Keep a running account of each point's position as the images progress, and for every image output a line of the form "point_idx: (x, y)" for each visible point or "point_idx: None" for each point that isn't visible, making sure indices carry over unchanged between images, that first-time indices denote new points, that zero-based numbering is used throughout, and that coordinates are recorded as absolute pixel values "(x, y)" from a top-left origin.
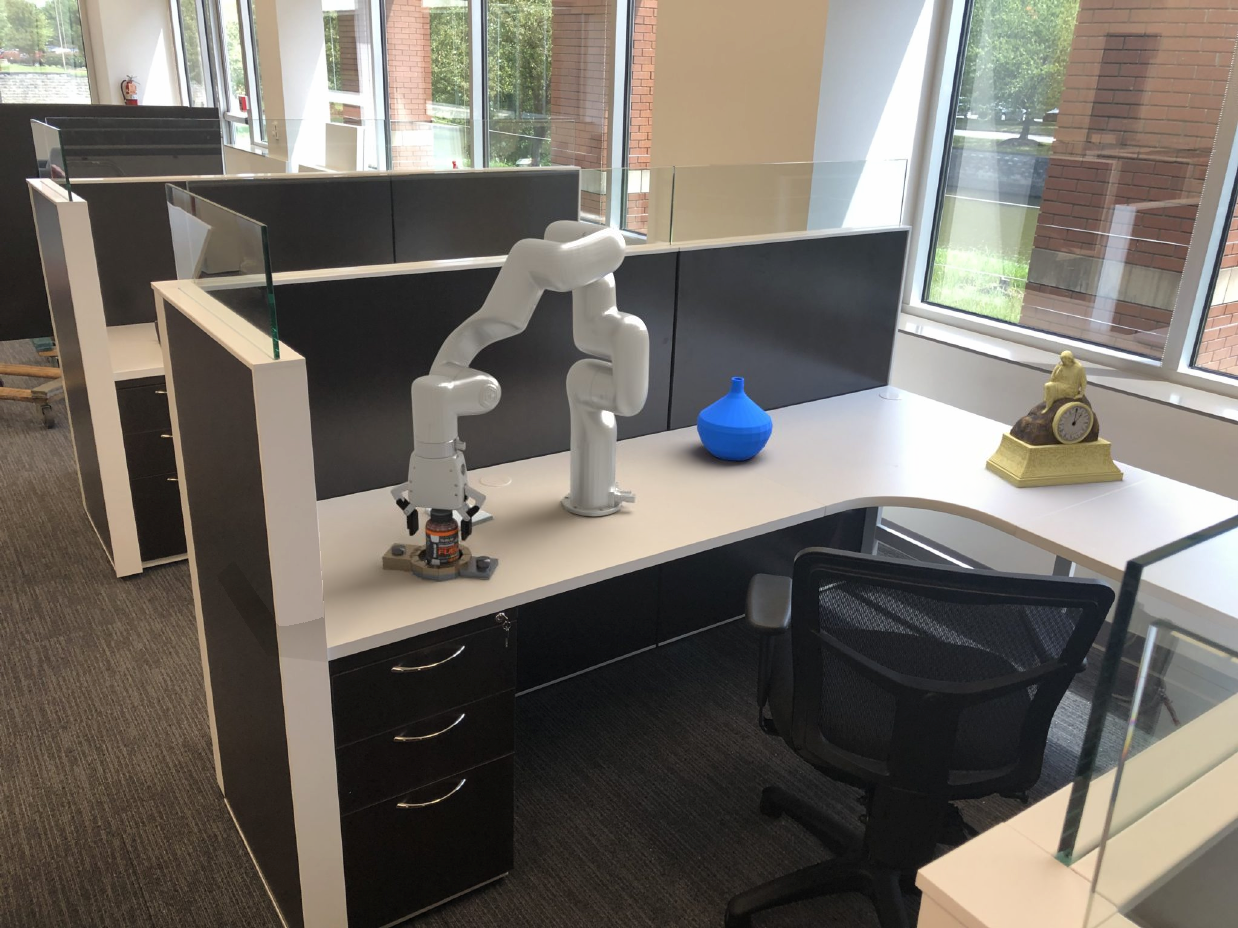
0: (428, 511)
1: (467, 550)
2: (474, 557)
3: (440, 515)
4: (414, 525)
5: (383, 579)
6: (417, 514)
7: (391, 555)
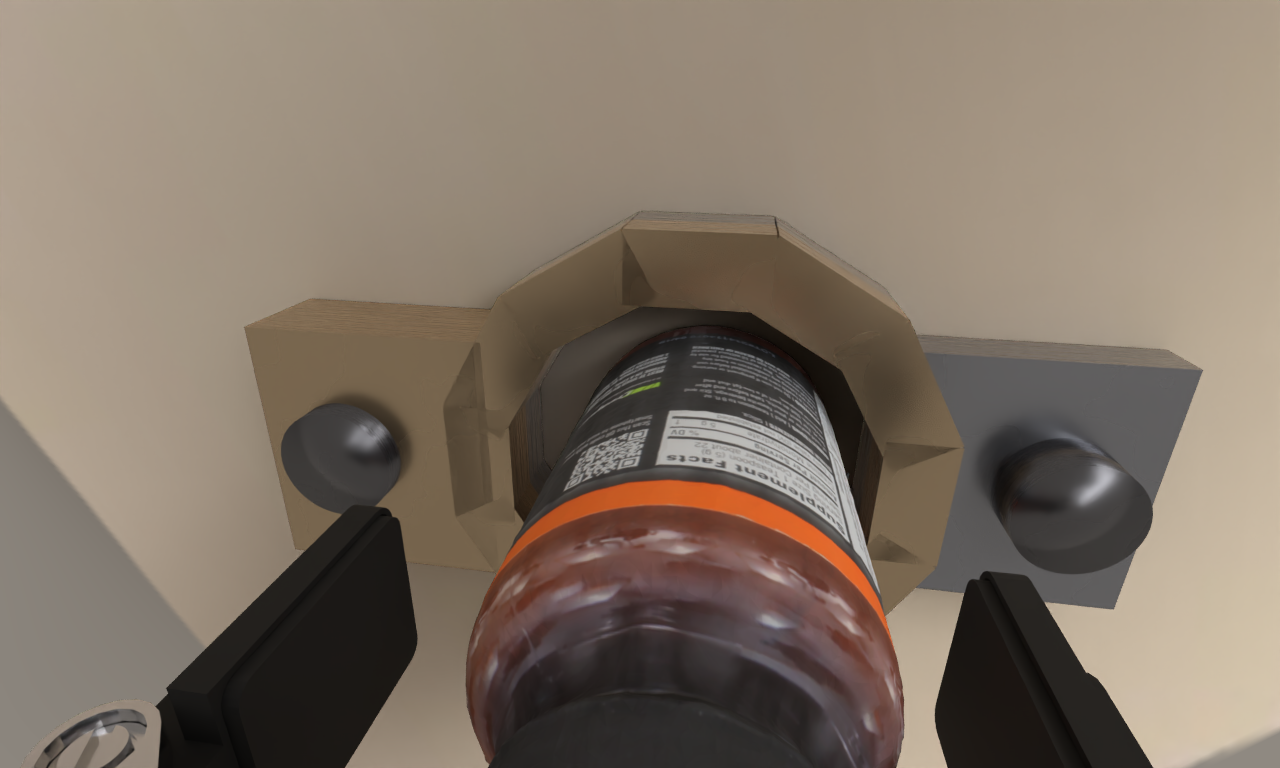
0: None
1: (908, 384)
2: (962, 374)
3: None
4: (360, 688)
5: (416, 608)
6: (276, 676)
7: None
